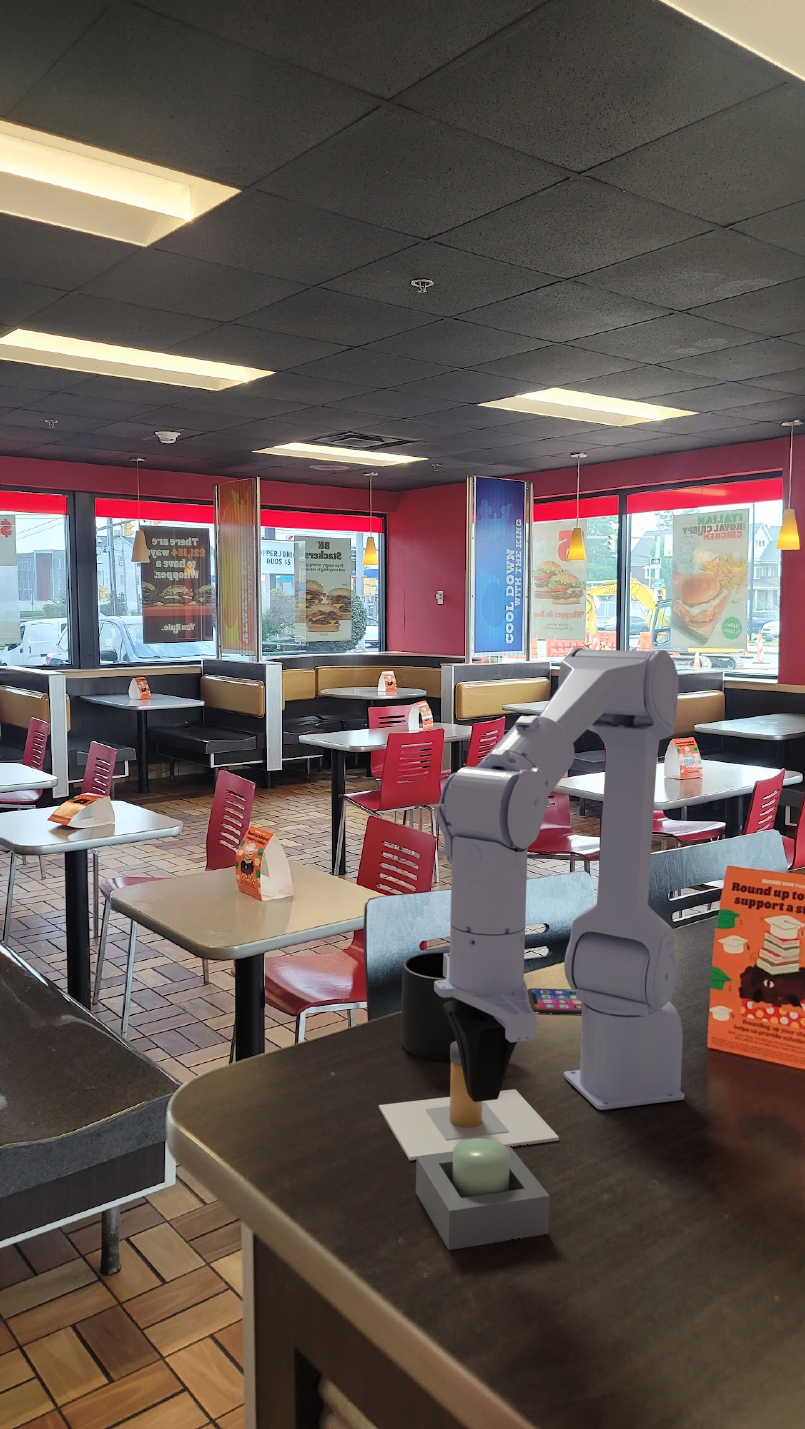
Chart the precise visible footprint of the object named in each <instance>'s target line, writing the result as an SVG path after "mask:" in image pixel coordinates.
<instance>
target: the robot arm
mask: <svg viewBox="0 0 805 1429" xmlns="http://www.w3.org/2000/svg"><path fill="white" fill-rule="evenodd" d="M557 680H558V681H557V684H558V686H557V687H558V688H557V689H556V691H555V692H554V694H553V696H552V697H550V700H549V701H548V703H547V704H546V705H545V706H544V707H543V708H544V709H542V711H541V713H540V714H539V715H528V716H527V715H521V716H520V717H519V718H518V719H517V720H516V721H515V722H514V725H513V726H512V727H511V728H510V729H509V730H508V731H507V733H506V734H504V736H502V738H501V739H500V740H499V741H498V742H497V743H496V744H495V746H493V748H492V749H491V750H490V751H489V752H488V753H487V754H486V755H485V757H484V758H483V759H482V760H481V761H480V762H479V763H478V764H477V765H476V766H464V767H462V768H460V769H458V770H457V772H453V773H451V775H450V776H448V778H447V780H445V782H444V785H443V786H442V790H441V792H440V793H441V794H440V798H439V804H438V805H437V806H436V815H437V816H436V817H437V822H438V826H439V828H440V832H441V833H442V836H443V840H444V857H446V862H448V863H449V864H451V875H450V876H451V879H450V881H451V882H450V884H451V885H450V925H449V926H450V928H449V929H450V930H449V952H450V953H444V954H443V976H444V977H445V978H446V979H445V980H437V981H435V982H434V991H435V992H436V993H437V994H438V995H439V996H441V997H454V998H456V999H458V1000H455V1001H448V1002H446V1003H444V1004H443V1009H444V1012H445V1014H446V1016H447V1017H448V1020H449V1022H450V1024H451V1027H452V1029H453V1032H454V1035H455V1038H456V1041H457V1045H458V1049H459V1054H460V1059H461V1064H462V1070H463V1075H464V1080H465V1085H466V1089H467V1093H468V1095H469V1096H470V1098H471V1099H472V1100H473V1101H474V1102H480V1101H488V1100H497V1099H498V1097H499V1094H500V1091H502V1087H503V1084H504V1080H505V1076H506V1072H507V1070H508V1067H509V1062H510V1060H511V1057H512V1055H513V1052H514V1050H515V1048H516V1045H517V1044H518V1042H527V1041H535V1040H536V1038H537V1016H538V1014H536V1013H535V1012H534V1011H533V1010H532V1008H531V1006H530V1002H529V997H528V991H527V990H528V986H527V982H526V980H525V975H524V973H525V947H526V946H525V945H526V944H525V943H526V915H527V914H526V913H527V912H526V910H527V881H528V880H527V877H528V876H527V873H528V847H530V846H531V845H532V844H533V843H534V842H536V840H537V838H538V836H539V834H540V832H541V828H542V824H543V819H544V816H545V813H546V811H547V810H548V808H549V807H548V805H549V803H550V800H549V795H550V794H551V793H552V791H553V790H554V789H555V787H557V785H558V784H559V783H560V782H561V780H562V779H563V777H564V776H566V775H565V774H566V773H567V772H568V771H569V770H570V768H571V767H572V765H573V763H574V760H575V754H576V753H575V746H574V743H575V742H576V741H577V740H578V739H579V738H580V737H581V736H582V735H583V734H584V733H585V732H586V731H587V730H588V731H591V732H593V733H595V734H597V735H598V736H599V738H600V739H601V740H602V743H603V744H604V745H605V748H606V751H605V754H606V755H605V766H604V768H605V769H604V784H603V785H604V786H603V800H602V801H603V802H602V812H601V813H602V816H601V829H600V830H601V832H600V848H599V864H598V880H597V897H596V903H595V904H594V905H592V906H591V907H589V908H587V909H585V910H584V911H582V912H580V913H579V914H578V915H577V916H576V917H575V918H574V920H573V921H572V924H571V931H570V937H569V941H568V945H567V947H566V951H565V956H564V964H563V965H564V968H563V969H564V975H565V979H566V981H567V983H568V985H569V987H570V989H573V990H575V991H576V1000H577V1001H581V1002H582V1015H581V1026H580V1027H581V1029H580V1030H581V1032H580V1033H581V1034H580V1056H579V1057H580V1058H579V1059H580V1063H579V1069H576V1070H566V1071H564V1072H563V1078H564V1079H565V1080H566V1081H567V1082H569V1083H570V1084H571V1085H572V1086H573V1087H574V1088H575V1090H577V1091H578V1092H579V1093H580V1094H581V1095H582V1096H583V1097H584V1098H586V1099H587V1100H588V1102H589V1103H591V1105H593V1106H594V1107H595V1108H596V1109H597V1110H600V1111H602V1110H604V1111H605V1110H612V1109H619V1108H629V1107H635V1106H644V1105H650V1104H656V1103H659V1104H661V1103H667V1102H675V1101H682V1100H684V1099H685V1096H686V1095H685V1093H684V1092H682V1091H681V1084H682V1083H681V1082H682V1063H683V1062H682V1059H683V1039H684V1038H683V1034H684V1033H683V1026H682V1021H681V1018H680V1015H679V1012H678V1011H677V1009H676V1007H675V1005H673V1004H672V1002H671V999H672V997H673V995H674V991H675V987H676V983H677V978H678V977H677V976H678V961H677V960H678V959H677V955H676V944H675V943H676V942H675V941H676V940H675V934H674V933H675V931H674V929H673V928H672V926H670V924H668V923H667V921H665V920H664V919H663V918H662V917H660V915H658V913H656V912H655V911H654V910H653V909H652V908H651V906H650V905H649V904H648V903H649V889H650V887H649V886H650V873H651V871H650V870H651V860H652V859H651V858H652V856H651V855H652V843H653V842H652V841H653V826H654V814H655V813H654V810H655V797H656V794H655V793H656V780H657V779H656V778H657V765H658V764H657V762H658V753H659V746H660V741H662V740H664V739H666V738H669V737H672V736H673V735H674V733H675V725H676V723H677V715H678V714H677V713H678V698H679V697H678V696H679V675H678V670H677V667H676V664H675V660H674V659H673V658H672V657H671V655H670V654H669V652H668V651H666V650H664V649H657V650H654V651H652V650H651V651H649V650H647V651H646V650H645V651H644V650H617V649H616V650H615V649H586V648H585V649H584V648H583V647H573V648H572V649H570V650H569V651H568V653H567V654H566V655H565V657H564V658H563V659H562V660H561V661H560V666H559V673H558V679H557Z"/></svg>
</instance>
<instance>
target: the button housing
mask: <svg viewBox="0 0 805 1429" xmlns="http://www.w3.org/2000/svg"><path fill="white" fill-rule="evenodd" d="M504 1146H506V1147H507V1148H508V1150H509V1152H510V1172H509V1191H506V1192H499V1193H492V1194H485V1195H479V1196H472V1197H465V1198H461V1197H460V1196H459V1194H458V1193H457V1191H456V1190H455V1188H454V1187H453V1185H452V1182H453V1152H450V1153H443V1154H435V1155H428V1156H420V1157H417V1160H416V1168H415V1194H416V1195H417V1197H418V1199H419V1201H420V1202H421V1205H422V1204H423V1205H422V1207H423V1208H424V1209H425V1210H424V1211H426V1214H428V1217H429V1219H430V1220H431V1223H432V1224H433V1226H434V1227H435V1229H436V1231H437V1232H438V1234H439V1236H440V1238H441V1240H442V1242H443V1243H444V1245H445V1246H446V1248H447V1250H448V1251H452V1250H457V1249H463V1248H464V1249H465V1248H470V1247H476V1246H483V1245H488V1244H494V1243H495V1242H496V1243H500V1242H501V1243H502V1242H506V1241H507V1240H508V1241H512V1240H511V1239H514V1240H519V1239H518V1238H520V1239H525V1238H524V1237H526V1238H531V1237H537V1236H544V1234H545V1235H549V1231H550V1201H551V1200H550V1199H551V1198H550V1194H549V1193H548V1192H547V1191H546V1189H545V1188H544V1187H543V1186H542V1184H541V1182H539V1180H538V1179H537V1177H535V1175H534V1174H533V1173H532V1172H531V1171H530V1169H529V1168H528V1167H527V1166H526V1164H525V1163H524V1162H523V1161H522V1159H521V1158H520V1157H519V1155H518V1154H517V1153H516V1152H515V1151H514V1149H513V1147H510V1146H509V1145H504ZM508 1241H507V1242H508Z"/></svg>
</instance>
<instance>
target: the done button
mask: <svg viewBox="0 0 805 1429" xmlns="http://www.w3.org/2000/svg"><path fill="white" fill-rule="evenodd" d="M509 1172H510V1152H509V1150H508V1148H507V1147H506V1146H504V1145H503V1144H501V1143H499V1142H497V1141H494V1140H489V1139H481V1138H475V1139H468V1140H464V1141H462V1142H460V1143H458V1144H457V1145H456V1146H455V1147H454V1149H453V1182H452V1185H453V1187H454V1188H455V1190H456V1191H457V1193H458V1194H459V1196H460V1197H461V1198H465V1197H472V1196H479V1195H485V1194H492V1193H499V1192H506V1191H509Z"/></svg>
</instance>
